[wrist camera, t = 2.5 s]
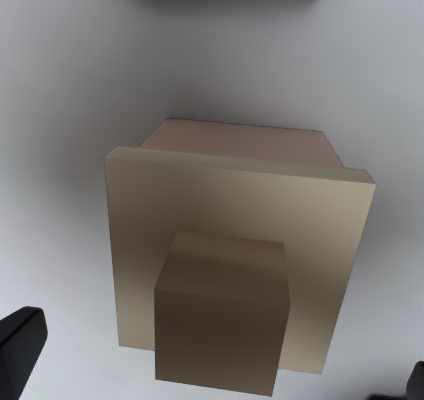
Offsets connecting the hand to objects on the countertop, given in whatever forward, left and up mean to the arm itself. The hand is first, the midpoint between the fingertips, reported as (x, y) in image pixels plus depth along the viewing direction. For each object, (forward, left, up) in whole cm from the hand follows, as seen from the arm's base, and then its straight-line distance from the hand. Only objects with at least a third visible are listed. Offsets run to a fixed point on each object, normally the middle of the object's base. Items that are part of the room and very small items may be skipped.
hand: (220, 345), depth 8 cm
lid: (0, 0, -3) cm, 3 cm away
